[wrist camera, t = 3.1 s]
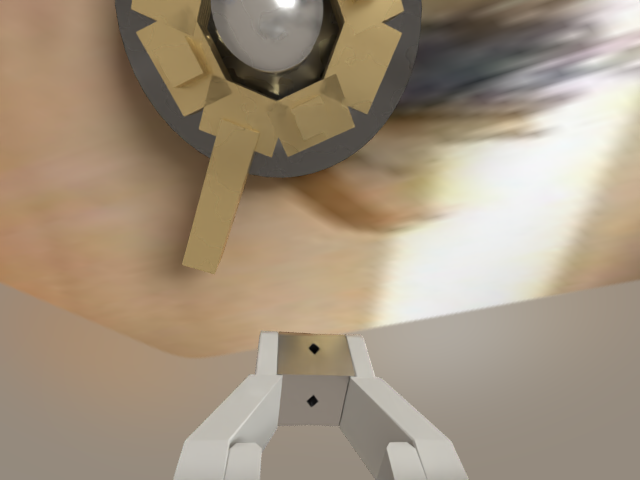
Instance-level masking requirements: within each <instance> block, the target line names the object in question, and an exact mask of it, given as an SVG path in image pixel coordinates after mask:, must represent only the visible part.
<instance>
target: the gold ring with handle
mask: <svg viewBox="0 0 640 480" xmlns="http://www.w3.org/2000/svg"><path fill="white" fill-rule="evenodd" d="M330 2H331V5H332V8H333V11H334V14H335V17H336V20H337V23H338V26H339V32H338V34H337V37H336V40H335V43H334V45H333V48H332V51H331V54H330V56H329V59H328V62H327V65H326V67H325V70H324V73H323V76H322V78H321V80H320V81H318V82H316V83H314V84H312V85H309V86H307V87H305V88H303V89H301V90H299V91H297V92H295V93H292V94H290V95H288V96H286V97H284V98H282V99H280V100H276V99H274V98H272V97H269V96H267V95H265V94H262V93H260V92H258V91H255V90H253V89H251V88H248V87H246V86H244V85H241V84H239V83H236V82H234V81H232V79H231V77H230V74H229V72H228V70H227V68H226V66H225V64H224V62H223V60H222V58H221V56H220V54H219V52H218V50H217V48H216V46H215V44H214V42H213V40H212V37H211V35H210V33H209V31H208V29H207V26H208V22H209V18H210V13H211V0H132V5H131V9H132V10H134V11H136V12H138V13H140V14H142V15H144V16H146V17H148V18H150V19H152V20H155V21H156V22H154V23H153V24H151V25H149V26H147V27H145V28H143V29H141V30H139V31H137V32H136V33H137V35H138V37H139V39H140V40H141V42H142V44H143V46H144V47H145V49H146V51H147V53H148V54H149V56H150V58H151V60H152V61H153V63H154V65H155V67H156V68H157V70H158V72H159V74H160V75H161V77H162V79H163V81H164V82H165V84H166V86H167V88H168V90H169V91H170V93H171V95H172V97H173V98H174V100H175V102H176V104H177V105H178V107H179V109H180V111H181V112H182V114H183V116H184V117H185V116H189V115H193V114H196V113H198V112H200V111H202V110H203V113H202V117H201V121H200V126H199V130H201V131H204V132H206V133H209V134H212V135H214V136H216V139H215V143H214V147H213V150H212V154H211V158H210V161H209V165H208V169H207V173H206V176H205V180H204V184H203V188H202V191H201V195H200V199H199V202H198V206H197V210H196V214H195V217H194V221H193V225H192V229H191V232H190V236H189V240H188V244H187V247H186V251H185V255H184V258H183V262H182V265H184V266H187V267H191V268H194V269H198V270H201V271H204V272H208V273H211V274H215V272H216V270H217V267H218V265H219V263H220V260H221V258H222V255H223V252H224V249H225V246H226V243H227V240H228V237H229V233H230V230H231V227H232V224H233V221H234V218H235V215H236V211H237V208H238V205H239V202H240V199H241V196H242V193H243V190H244V186H245V183H246V180H247V177H248V174H249V171H250V168H251V164H252V161H253V158H254V155H255V152H258V153H261V154H264V155H266V156H269V157H271V158H272V155H273V152H274V149H275V146H276V143H277V140H278V137H279V139H280V141H281V143H282V146H283V148H284V150H285V152H286V154H287V156H288V157H289V156H292V155H294V154H296V153H298V152H300V151H303V150H305V149H307V148H309V147H312V146H314V145H316V144H318V143H320V142H323V141H325V140H327V139H329V138H332V137H334V136H336V135H338V134H341V133H343V132H345V131H347V130H349V129H352V128H354V127H355V125H354V122H353V120H352V117H351V114H350V111H349V108H348V107H350V108H352V109H355V110H357V111H359V112H362V113H365V114H368V112H369V109H370V107H371V105H372V102H373V100H374V98H375V95H376V93H377V91H378V88H379V86H380V84H381V81H382V79H383V77H384V75H385V72H386V70H387V68H388V65H389V63H390V61H391V58H392V56H393V54H394V51H395V49H396V47H397V44H398V42H399V40H400V37H401V35H402V33H401V32H399V31H397V30H395V29H394V28H392V27H390V26H388V25H386V24H384V23H386V22H388V21H390V20H392V19H394V18H395V17H397V16H398V15H399V14H401V13H402V12H404V9H403V5H402V1H401V0H330Z"/></svg>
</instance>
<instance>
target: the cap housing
mask: <svg viewBox="0 0 640 480" xmlns="http://www.w3.org/2000/svg"><path fill="white" fill-rule="evenodd" d="M401 1H402V5H403V9H404V12H402V13H401V14H399V15H398V16H397V17H395V18H394V19H392V20H390V21H388V22H386V23H384V24H386V25H388V26H390V27H392V28H394V29H395V30H397V31H399V32H401V33H402V35H401V37H400V40H399V42H398V44H397V47H396V49H395V51H394V54H393V56H392V58H391V61H390V63H389V65H388V68H387V70H386V72H385V75H384V77H383V79H382V81H381V84H380V86H379V88H378V91H377V93H376V95H375V98H374V100H373V102H372V105H371V107H370V109H369V112H368V114H365V113H362V112H359V111H357V110H355V109H352V108H350V107H348V108H349V111H350V114H351V117H352V120H353V122H354V125H355V127H354V128H352V129H349V130H347V131H345V132H343V133H341V134H338V135H336V136H334V137H332V138H329V139H327V140H325V141H323V142H320V143H318V144H316V145H314V146H312V147H309V148H307V149H305V150H303V151H300V152H298V153H296V154H294V155H292V156H289V157H288V156H287V154H286V152H285V150H284V148H283V146H282V143H281V141H280V139H279V137H278V140H277V143H276V146H275V149H274V152H273V155H272V158H271V157H269V156H266V155H264V154H261V153H258V152H255V155H254V158H253V161H252V164H251V168H250V171H249V174H252V175H258V176H264V177H281V178H283V177H294V176H302V175H306V174H311V173H315V172H318V171H321V170H323V169H326V168H329V167H331V166H333V165H335V164H337V163H339V162H341V161H343V160H345V159H346V158H348V157H349V156H351V155H352V154H354V153H355V152H356V151H358V150H359V149H360V148H362V147H363V146H364V145H365V144H366V143H367V142H368V141H369V140H371V139H372V138H373V137H374V135H375V134H376V133H377V132H378V131H379V130H380V129H381V127H382V126H383V125H384V124H385V123H386V121H387V120H388V118H389V117H390V115H391V114H392V112H393V111H394V109H395V108H396V106H397V104H398V102H399V100H400V98H401V96H402V95H403V93H404V91H405V88H406V86H407V83H408V80H409V78H410V75H411V73H412V69H413V66H414V62H415V58H416V55H417V50H418V44H419V37H420V31H421V12H422V4H421V0H401ZM131 5H132V0H115V6H116V12H117V18H118V24H119V30H120V33H121V37H122V40H123V44H124V47H125V51H126V54H127V56H128V59H129V61H130V64H131V66H132V69H133V71H134V74H135V76H136V77H137V79H138V81H139V83H140V85H141V87H142V89H143V91H144V93H145V94H146V96H147V97H148V99H149V100H150V102H151V103H152V105H153V106H154V108H155V109H156V110H157V112H158V113H159V114H160V115H161V117H162V118H163V119H164V120H165V121H166V122H167V124H168V125H169V126H170V127H171V128H172V129H173V130H174V131H175V132H176V133H177V134H178V135H179V136H180V137H181V138H182V139H183V140H185V141H186V142H187V143H188V144H190V145H191V146H192V147H194V148H195V149H196V150H198V151H199V152H200V153H202V154H204V155H205V156H207V157H209V158H211V154H212V150H213V147H214V143H215V139H216V136H214V135H212V134H209V133H206V132H204V131H201V130H199V126H200V121H201V117H202V113H203V110H202V111H200V112H198V113H196V114H193V115H189V116H185V117H184V116H183V114H182V112H181V111H180V109H179V107H178V105H177V104H176V102H175V100H174V98H173V97H172V95H171V93H170V91H169V90H168V88H167V86H166V84H165V82H164V81H163V79H162V77H161V75H160V74H159V72H158V70H157V68H156V67H155V65H154V63H153V61H152V60H151V58H150V56H149V54H148V53H147V51H146V49H145V47H144V46H143V44H142V42H141V40H140V39H139V37H138V35H137V33H136V32H137V31H139V30H141V29H143V28H145V27H147V26H149V25H151V24H153V23H154V22H156V21H155V20H152V19H150V18H148V17H146V16H144V15H142V14H140V13H138V12H136V11H134V10H132V9H131ZM207 29H208V31H209V33H210V35H211V37H212V40H213V42H214V44H215V46H216V48H217V50H218V52H219V54H220V56H221V58H222V60H223V62H224V64H225V66H226V68H227V70H228V72H229V74H230V77H231V79H232V81H234V82H236V83H239V84H241V85H244V86H246V87H248V88H251V89H253V90H255V91H258V92H260V93H262V94H265V95H267V96H269V97H272V98H274V99H276V100H280V99H282V98H284V97H286V96H288V95H290V94H292V93H295V92H297V91H299V90H301V89H303V88H305V87H307V86H309V85H312V84H314V83H316V82H318V81H320V80H321V78H322V76H323V73H324V70H325V67H326V65H327V62H328V59H329V56H330V54H331V51H332V48H333V45H334V43H335V40H336V37H337V34H338V32H339V26H338V23H337V20H336V17H335V14H334V11H333V8H332V5H331V2H330V0H211V13H210V18H209V22H208V26H207Z"/></svg>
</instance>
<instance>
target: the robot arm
mask: <svg viewBox="0 0 640 480" xmlns="http://www.w3.org/2000/svg"><path fill="white" fill-rule="evenodd" d="M292 425H322V426H323V425H324V426H340V429H341V431H342V432H343V433H344V435H345V437H346V438H347V439H348V441H349V442H350V444H351V445H352V447H353V448H354V450H355V451H356V452H357V454H358V455H359V457H360V458H361V459H362V461H363V462H364V464H365V465H366V467H367V468H368V470H369V471H370V472H371V474H372V475H373V477H374V478H375V480H469V478H468V476H467V474H466V472H465V470H464V467H463V465H462V463H461V461H460V459H459V457H458V455H457V453H456V450H455V448H454V446H453V444H452V442H451V440H450V439H449V438H447V437H446V436H445V435H444V434H443V433H442V432H441V431H440V430H439V429H437V428H436V427H435V426H434V425H433V424H432V423H431V422H430V421H429V420H427V419H426V418H425V417H424V416H423V415H422V414H421V413H420V412H419V411H417V410H416V409H415V408H414V407H413V406H412V405H411V404H410V403H409V402H407V401H406V400H405V399H404V398H403V397H402V396H401V395H400V394H399V393H397V392H396V391H395V390H394V389H393V388H392V387H391V386H390V385H389V384H387V383H386V382H385V381H384V380H383V379H382V378H380V377H375V374H374V371H373V368H372V364H371V361H370V357H369V355H368V351H367V348H366V345H365V341H364V338H363V336H362V335H352V334H345V335H337V334H310V333H294V332H279V333H278V332H274V331H261V332H260V337H259V345H258V353H257V362H256V370H255V375H253V374H250V375H249V376H248V377H247V378H246V379H245V380H244V381H243V382H242V383H241V384H240V385H239V386H238V387H237V388H236V389H235V390H234V391H233V392H232V393H231V394H230V395H229V396H228V397H227V398H226V399H225V400H224V401H223V402H222V403H221V404H220V405H219V406H218V407H217V408H216V409H215V410H214V412H213V413H212V414H211V415H210V416H209V417H208V418H207V419H206V420H205V421H204V422H203V423H202V424H201V425H200V426H199V427H198V428H197V429H196V430H195V431H194V432H193V433H192V434H191V435H190V436H189V437H188V438H187V439H186V440H185V442H184V445H183V449H182V452H181V455H180V458H179V462H178V465H177V469H176V472H175V475H174V478H173V480H260V469H261V454H262V452H263V450H264V449H265V447H266V445H267V444H268V442H269V441H270V439H271V437H272V436H273V434H274V433H275V431H276V429H277V427H278V426H292Z"/></svg>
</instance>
